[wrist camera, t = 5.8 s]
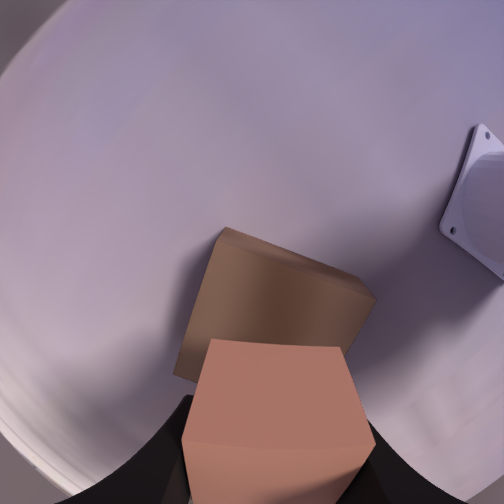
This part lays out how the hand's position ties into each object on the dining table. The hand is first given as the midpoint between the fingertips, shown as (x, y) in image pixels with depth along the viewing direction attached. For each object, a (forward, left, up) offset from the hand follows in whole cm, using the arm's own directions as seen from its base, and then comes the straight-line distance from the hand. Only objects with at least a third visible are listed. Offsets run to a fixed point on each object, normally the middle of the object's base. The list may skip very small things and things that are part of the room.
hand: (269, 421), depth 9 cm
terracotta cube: (0, 0, -2) cm, 2 cm away
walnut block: (0, 0, -9) cm, 9 cm away
